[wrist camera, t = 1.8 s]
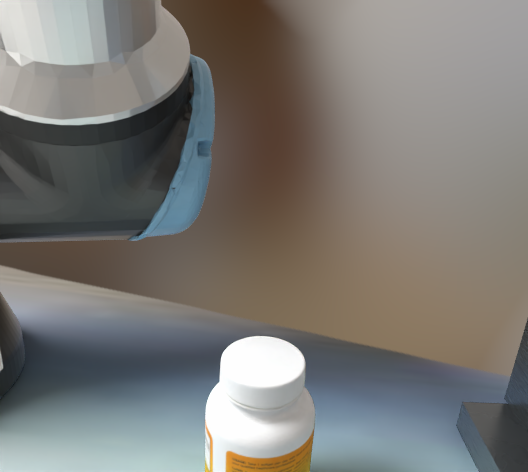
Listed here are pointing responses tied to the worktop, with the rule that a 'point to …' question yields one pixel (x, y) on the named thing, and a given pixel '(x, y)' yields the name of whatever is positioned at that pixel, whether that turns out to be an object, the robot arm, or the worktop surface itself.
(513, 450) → the arbor press
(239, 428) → the supplement bottle
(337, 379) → the worktop surface
